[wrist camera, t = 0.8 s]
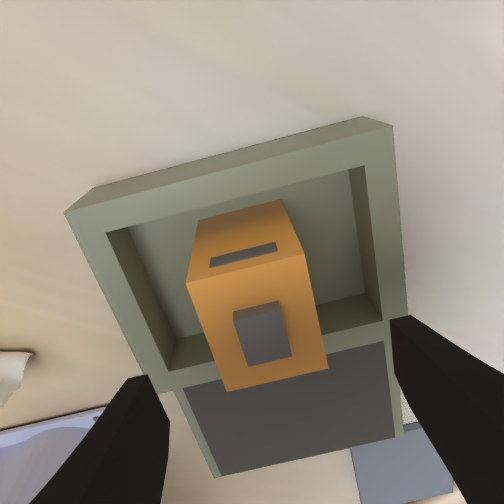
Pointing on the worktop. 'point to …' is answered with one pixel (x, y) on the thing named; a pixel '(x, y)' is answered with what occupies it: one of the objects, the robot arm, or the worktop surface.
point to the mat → (400, 469)
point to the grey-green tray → (320, 273)
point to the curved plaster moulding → (11, 373)
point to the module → (255, 296)
